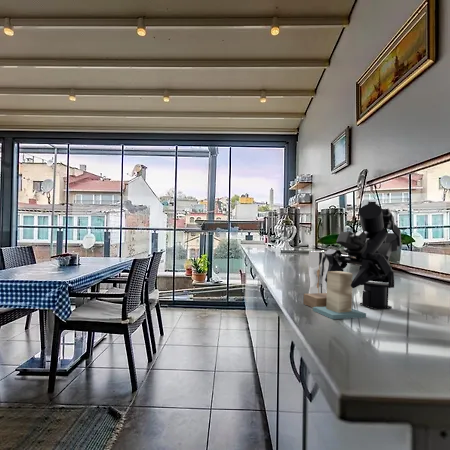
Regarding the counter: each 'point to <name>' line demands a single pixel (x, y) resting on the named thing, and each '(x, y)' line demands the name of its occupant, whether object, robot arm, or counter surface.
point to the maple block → (339, 291)
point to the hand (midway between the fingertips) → (338, 284)
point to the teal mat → (337, 315)
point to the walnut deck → (315, 299)
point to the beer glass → (317, 271)
